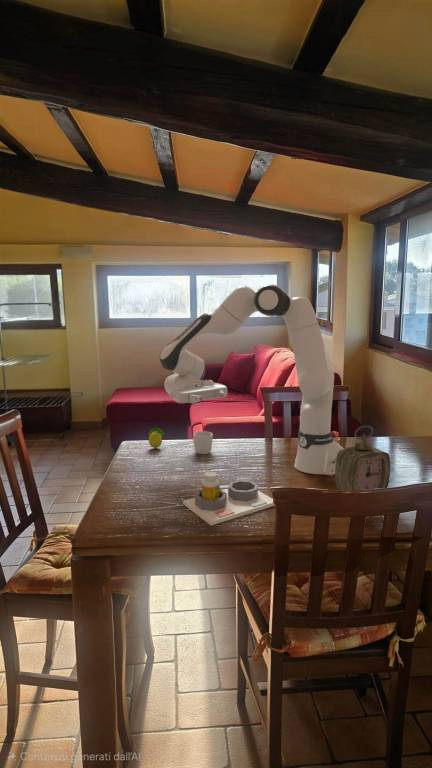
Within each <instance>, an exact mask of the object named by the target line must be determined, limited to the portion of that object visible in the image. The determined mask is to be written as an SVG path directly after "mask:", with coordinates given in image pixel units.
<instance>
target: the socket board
mask: <svg viewBox="0 0 432 768" xmlns="http://www.w3.org/2000/svg"><path fill="white" fill-rule="evenodd" d="M273 499H274V498H272V497H270V496H269V495H267V494H265V493H263V492H261V491H260V490H259V484H257V483H256V482H254V481H252V480H243V479H239V480H234V481H231V482H229V484H228V487H227V488H226V489H220V498H218V499H215V500H208V499H203V498H202V489H200V490H198V491H197V492H196V494H195V496H194V497H193V498H192V497H191V498H188V499H186V500H183V502H182V503H183V506H185V507H186V508H188V510H190V511H192V513H194V514H196V515H197V516H198V517H199V518H200V519H202V520H203V521H205V523H207V524H208V525H210V526H214V525H217V524H221V523H224V522H226V521H230V520H233V519H236V518H239V517H242V516H246V515H249V514H253V513H256V512H258V511H261V510H265V509H268V508H271V507H274V504H273Z"/></svg>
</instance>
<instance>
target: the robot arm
mask: <svg viewBox="0 0 432 768" xmlns="http://www.w3.org/2000/svg"><path fill="white" fill-rule="evenodd" d="M257 312H259V313H261V314H262V315H263V316H264V315H265V316H267V317H276V316H277V317H281V318H283V320H284V322H285V325H286V328H287V333H288V337H289V341H290V344H291V349H292V353H293V356H294V357H293V358H294V363H295V370H296V375H297V381H298V387H299V389H300V392H301V393H302V397H301V404H300V415H299V416H300V417H299V418H300V419H299V429H298V435H297V436H298V437H297V439H298V444H297V452H296V456H295V459H294V461H295V462H294V464H293V467H294V468H295V469H296V470H297V471H299V472H302V473H306V474H312V475H325V476H334V475H335V466H336V458H337V454H338V452H339V451H340V450H342V449H345V448H344V447H343V446H341V445H340V444H338V443H337V442H336V441H335V440H334V437H335V438H338V437H339V432H338V431H335V430H333V431H331V423H332V407H333V398H334V387H335V385H334V384H335V371H334V370H333V368H332V367H331V366H330V365H329V364H328V361H327V355H326V351H325V343H324V339H323V336H322V331H321V328H320V324H319V320H318V318H317V315H316V312H315V309H314V307H313V305H312V303H311V301H310V299H309V298H307V297H306V296H295V297H290V296H289V295H288V294H287V292H286V291H285V290H284V288H282V287H281V286H280V285H279V286H278V285H276V284H266V285H262V286H261V287H260V288H258V289H257V291H256V290H254V289H253V288H251V287H249V286H247V285H239V286H237V287H236V288H234V289H233V291H232V292H230V293H229V295H228V296H226V298H225V299H224V300H223V301H222V303H221V304H219V306H218V307H216V309H214V310H213V311H211V312H206V313H203V314H201V315H200V316H198V317H197V318H196V319H195V320H194V321H193V322H192V323H191V324H190V325H189V326H188V327H186V328H185V329H184V330H183V331H182V332H181V333H180V334H179V335H177V337H176V338H175V339H174V340H172V341H171V342H170V343H168V344H167V345H165V346H163V348H162V350H161V351H160V354H159V362H160V364H161V367H162V368H163V369H164V370H167V371H170V372H172V373H173V374H171V375H169V376H167V377H166V378H165V379H164V381H163V382H164V385H163V386H164V389H165V392H166V393H167V394H168V397H170V398H172V399H173V401H174V402H176V403H178V404H185V403H186V404H187V403H189V404H197V403H199V402H203V401H207V400H211V399H217V398H219V399H224V398H226V397H227V396H228V387H227V386H226V385H224V384H222V383H218V382H214V380H211V379H204V378H205V374H206V362H205V360H204V359H202V358H201V357H199V356H198V355H196V354H194V353H192V352H190V351H189V350H187V348H188V347H189V346H190V345H192V344H193V342H194V341H196V340H197V339H198V338H199V337H200V336H202V335H206V334H213V335H220V336H231V335H234V334H236V333H237V332H238V331H240V329H241V328H242V327H243V326H244V325H245V323H246V322H247V320H248V319H249V318H250V317H251V316H252V315H253V314H254V313H257Z"/></svg>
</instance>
